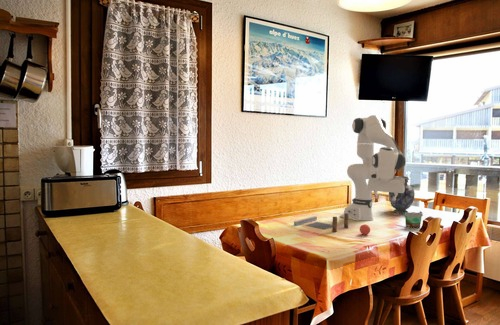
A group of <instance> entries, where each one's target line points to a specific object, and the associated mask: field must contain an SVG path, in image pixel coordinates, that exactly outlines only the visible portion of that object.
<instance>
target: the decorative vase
mask: <svg viewBox="0 0 500 325" xmlns="http://www.w3.org/2000/svg"><path fill="white" fill-rule="evenodd" d="M400 176H401V177H403V178H404V179H405V184H404V186H405V191H404V193H398V195H397V197H396V200H395V201H393V200H392V197H394V196H395V195H394V193H393V192H388V198H389V202H390V205H391V207H392V208H393V209H394V210H392V212H393V213H395V212H396V213H395V214H402V213H405V212H409V211H407V210H408V209H410V207H412V205H413V202H414V199H415V189H414V188H413V187H412V185H411V186H410V185H409V184H408V183H409V180H410V178H409V177H408V176H406V175H405V176H404V175H403V176H402V175H398V177H400ZM403 178H402V179H403Z"/></svg>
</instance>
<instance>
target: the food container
mask: <svg viewBox="0 0 500 325" xmlns="http://www.w3.org/2000/svg"><path fill="white" fill-rule="evenodd" d="M423 215H424V214H423V212H422V211H421V210H419V212H412V211H411V212H410V211H408V212H405V214H404V216H405V219H404V220H405V228H408V229H420V228H421V223H422V217H423Z"/></svg>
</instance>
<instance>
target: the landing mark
mask: <svg viewBox="0 0 500 325" xmlns="http://www.w3.org/2000/svg"><path fill="white" fill-rule="evenodd" d="M305 226H306V227H311V228H315V229H319V230H327V229H332V224H329V223H323V222H321V221H314V222H313V223H312V222H311V223H309V224H308V223H307V224H305Z"/></svg>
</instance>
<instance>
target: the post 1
mask: <svg viewBox="0 0 500 325" xmlns="http://www.w3.org/2000/svg"><path fill="white" fill-rule="evenodd" d="M331 223H332V224H331V225H332V227H331V232H332V233H337V232H338V231H337V230H338V229H337V228H338V226H337V225H338V217H337V216H332V222H331Z"/></svg>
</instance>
